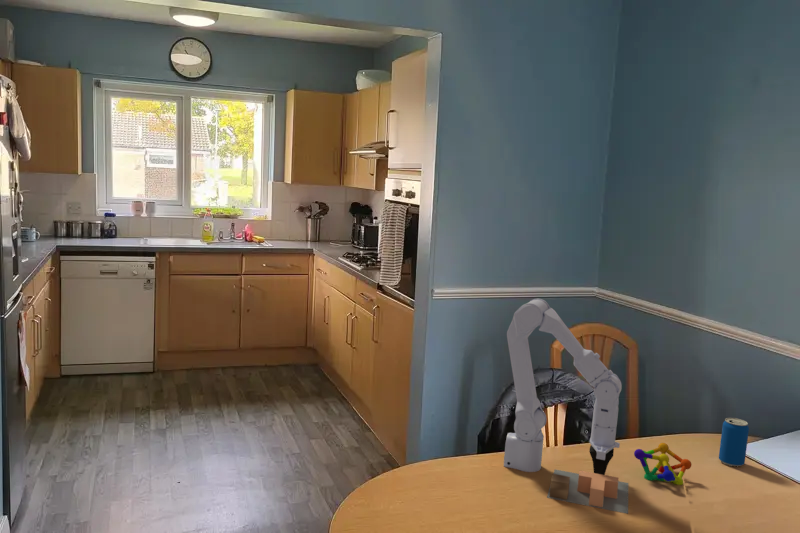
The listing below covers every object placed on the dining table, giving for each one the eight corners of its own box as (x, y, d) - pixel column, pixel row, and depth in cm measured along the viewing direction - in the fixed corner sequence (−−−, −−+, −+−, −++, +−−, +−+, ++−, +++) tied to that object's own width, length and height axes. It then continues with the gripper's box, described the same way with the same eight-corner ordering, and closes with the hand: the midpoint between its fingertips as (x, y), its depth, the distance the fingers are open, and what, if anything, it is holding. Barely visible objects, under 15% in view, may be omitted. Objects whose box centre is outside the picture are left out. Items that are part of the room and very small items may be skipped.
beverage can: (720, 456, 192) (725, 415, 190) (746, 462, 188) (751, 421, 187) (716, 463, 187) (721, 421, 185) (741, 470, 183) (747, 427, 181)
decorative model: (705, 469, 172) (672, 466, 163) (688, 498, 174) (655, 496, 165) (664, 439, 182) (632, 434, 173) (649, 467, 184) (616, 463, 175)
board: (546, 501, 158) (546, 497, 158) (554, 473, 174) (554, 469, 174) (627, 517, 153) (628, 513, 152) (628, 486, 169) (628, 483, 168)
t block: (578, 486, 165) (579, 470, 165) (616, 493, 162) (618, 477, 162) (575, 502, 157) (576, 485, 156) (616, 510, 154) (617, 493, 153)
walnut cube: (549, 496, 159) (550, 480, 158) (551, 489, 162) (552, 473, 162) (566, 500, 157) (568, 483, 157) (568, 492, 161) (569, 476, 161)
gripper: (621, 437, 158) (615, 492, 160) (621, 417, 171) (616, 468, 173) (589, 431, 160) (584, 486, 162) (593, 412, 174) (587, 463, 175)
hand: (598, 476), depth 168 cm, fingers closed
